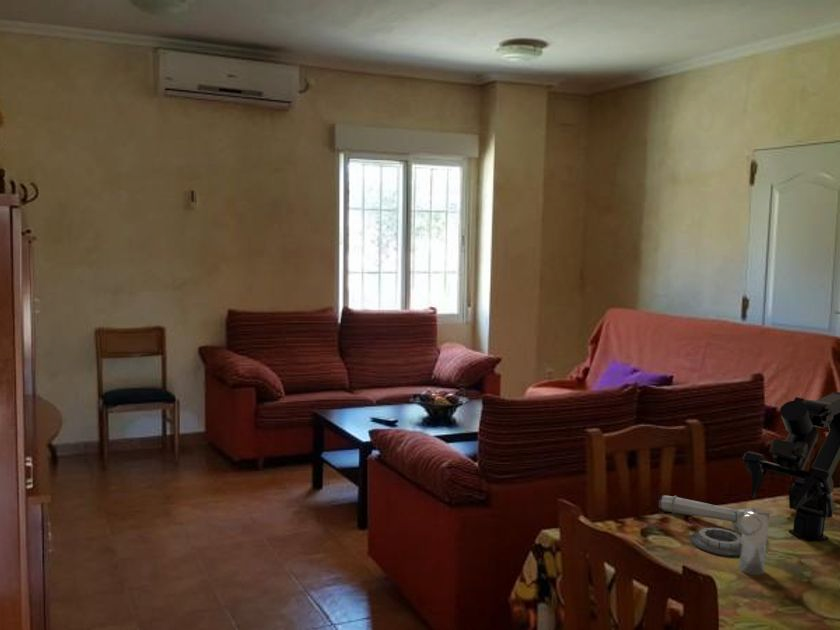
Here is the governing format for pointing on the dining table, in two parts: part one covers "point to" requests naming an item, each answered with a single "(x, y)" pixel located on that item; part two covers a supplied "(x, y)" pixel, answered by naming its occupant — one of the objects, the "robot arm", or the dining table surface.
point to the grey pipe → (700, 509)
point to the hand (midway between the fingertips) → (772, 502)
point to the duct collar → (717, 541)
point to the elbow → (753, 540)
